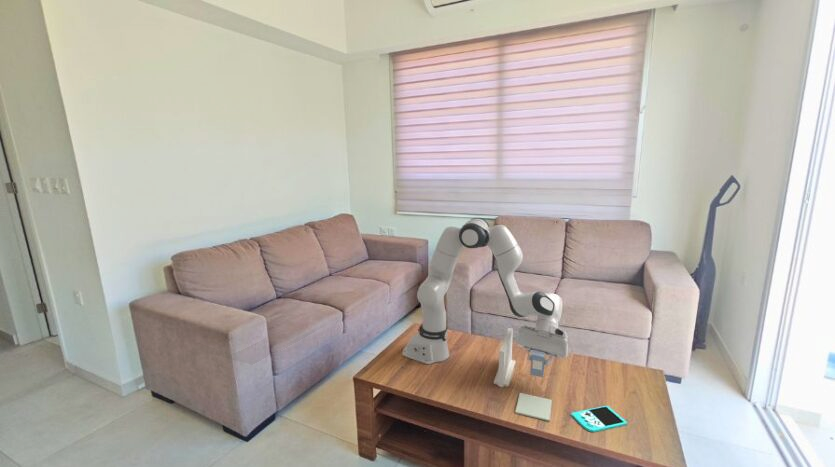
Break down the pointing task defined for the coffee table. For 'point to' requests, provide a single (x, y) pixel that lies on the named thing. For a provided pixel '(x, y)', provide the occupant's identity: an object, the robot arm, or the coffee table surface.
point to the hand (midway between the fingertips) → (537, 362)
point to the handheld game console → (598, 419)
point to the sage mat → (534, 406)
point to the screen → (505, 361)
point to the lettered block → (537, 363)
